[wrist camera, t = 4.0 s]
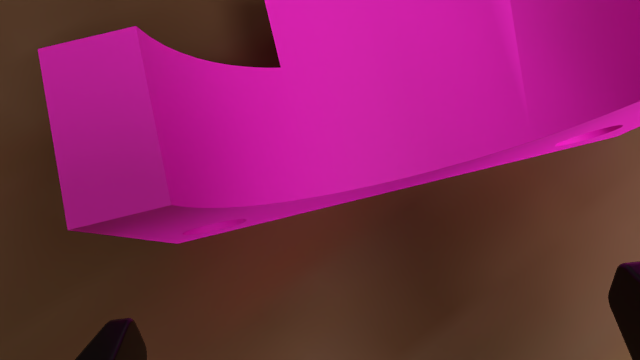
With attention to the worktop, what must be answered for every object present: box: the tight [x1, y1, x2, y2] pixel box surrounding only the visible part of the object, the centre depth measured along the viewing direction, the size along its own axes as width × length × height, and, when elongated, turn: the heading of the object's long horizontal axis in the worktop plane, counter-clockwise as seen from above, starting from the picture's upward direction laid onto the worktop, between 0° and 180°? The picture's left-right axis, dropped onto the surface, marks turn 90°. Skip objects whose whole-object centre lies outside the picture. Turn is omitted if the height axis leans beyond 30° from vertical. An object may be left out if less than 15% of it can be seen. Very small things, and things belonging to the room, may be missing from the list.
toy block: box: [38, 0, 640, 244], centre depth 14 cm, size 15×6×8 cm, turn 104°
